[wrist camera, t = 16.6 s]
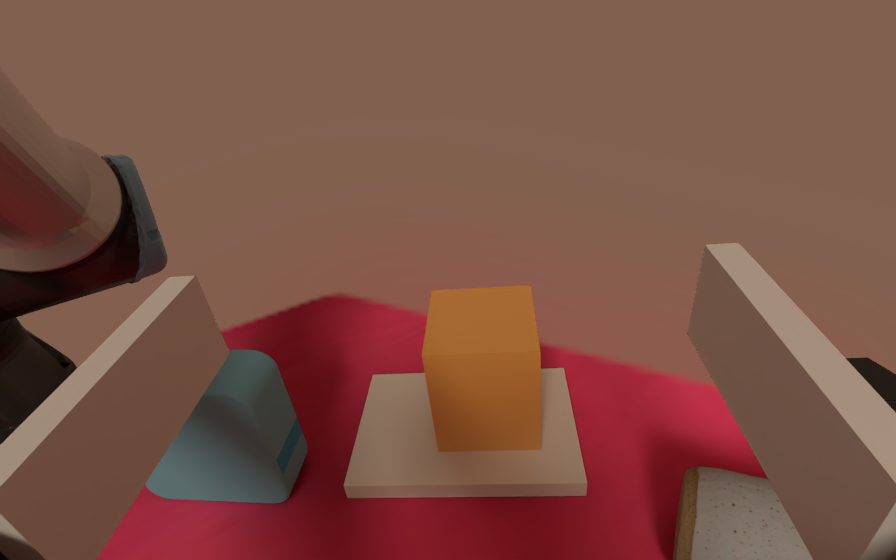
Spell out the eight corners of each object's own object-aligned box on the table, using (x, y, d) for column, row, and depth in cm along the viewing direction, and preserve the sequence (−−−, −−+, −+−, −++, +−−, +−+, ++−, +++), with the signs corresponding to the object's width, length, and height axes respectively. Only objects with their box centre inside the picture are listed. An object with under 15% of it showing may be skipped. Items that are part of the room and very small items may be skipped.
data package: (313, 456, 42) (272, 347, 35) (293, 505, 38) (243, 394, 31) (184, 453, 43) (123, 348, 37) (153, 499, 40) (79, 392, 33)
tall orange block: (438, 451, 39) (421, 355, 34) (444, 380, 46) (431, 290, 40) (540, 449, 38) (540, 350, 33) (531, 376, 45) (530, 285, 39)
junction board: (347, 498, 38) (322, 427, 34) (375, 386, 48) (359, 320, 44) (586, 495, 36) (592, 420, 32) (563, 379, 46) (565, 310, 42)
